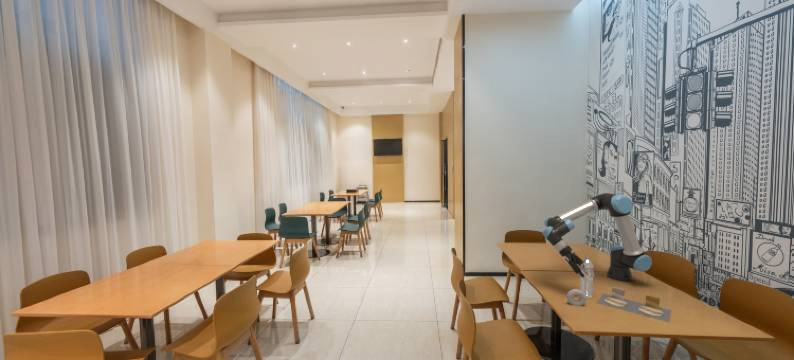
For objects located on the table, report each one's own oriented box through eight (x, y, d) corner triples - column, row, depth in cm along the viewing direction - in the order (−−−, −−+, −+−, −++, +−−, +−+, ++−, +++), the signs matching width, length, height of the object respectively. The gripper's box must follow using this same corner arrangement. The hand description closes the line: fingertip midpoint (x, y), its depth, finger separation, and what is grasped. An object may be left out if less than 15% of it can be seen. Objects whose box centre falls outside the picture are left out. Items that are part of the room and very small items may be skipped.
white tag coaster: (607, 295, 192) (607, 285, 192) (629, 300, 184) (629, 290, 184) (602, 302, 182) (602, 292, 181) (625, 308, 174) (626, 298, 174)
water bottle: (577, 294, 195) (578, 255, 194) (587, 294, 196) (588, 255, 194) (584, 299, 188) (586, 258, 187) (595, 299, 189) (596, 258, 188)
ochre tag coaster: (640, 303, 181) (640, 293, 180) (665, 309, 173) (665, 299, 173) (636, 311, 170) (637, 301, 170) (663, 318, 163) (663, 307, 163)
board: (602, 295, 194) (603, 293, 194) (671, 312, 172) (671, 310, 172) (596, 304, 182) (596, 302, 181) (669, 324, 159) (669, 322, 159)
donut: (584, 305, 180) (585, 289, 180) (586, 308, 177) (587, 291, 176) (565, 303, 183) (566, 287, 182) (567, 306, 180) (567, 289, 179)
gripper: (563, 248, 210) (589, 277, 200) (552, 255, 194) (580, 287, 184) (572, 241, 206) (599, 271, 196) (562, 248, 190) (591, 280, 180)
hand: (590, 278), depth 190 cm, fingers open, 10 cm apart
